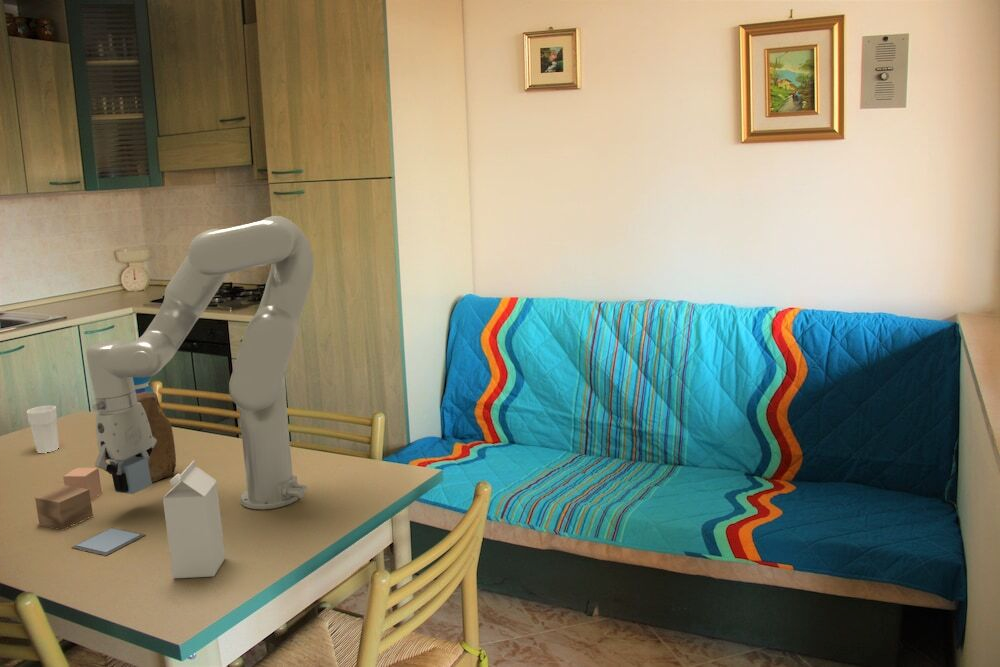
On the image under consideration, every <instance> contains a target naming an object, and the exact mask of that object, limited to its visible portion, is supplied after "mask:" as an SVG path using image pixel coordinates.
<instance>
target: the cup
mask: <svg viewBox="0 0 1000 667" xmlns="http://www.w3.org/2000/svg"><path fill="white" fill-rule="evenodd" d="M26 415H27V419H28V424H29V425H30V427H31V432H32V433H31V434H32V437H33V441H34V446H35V450H36V451H37V452H38V453H47V452H51V451H55V450H57V449H58V448H59V449H60V445H59V436H58V435H59V432H58V424H57V423H58V422H57V420H58V416H57V415H58V414H57V406H56V405H42V406H36V407H33V408H29V409H28V410H26ZM59 449H58V450H59ZM58 450H57V451H58ZM37 452H36V453H37ZM55 452H56V451H55ZM38 453H37V454H38ZM51 453H52V452H51ZM47 454H48V453H47Z"/></svg>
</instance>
